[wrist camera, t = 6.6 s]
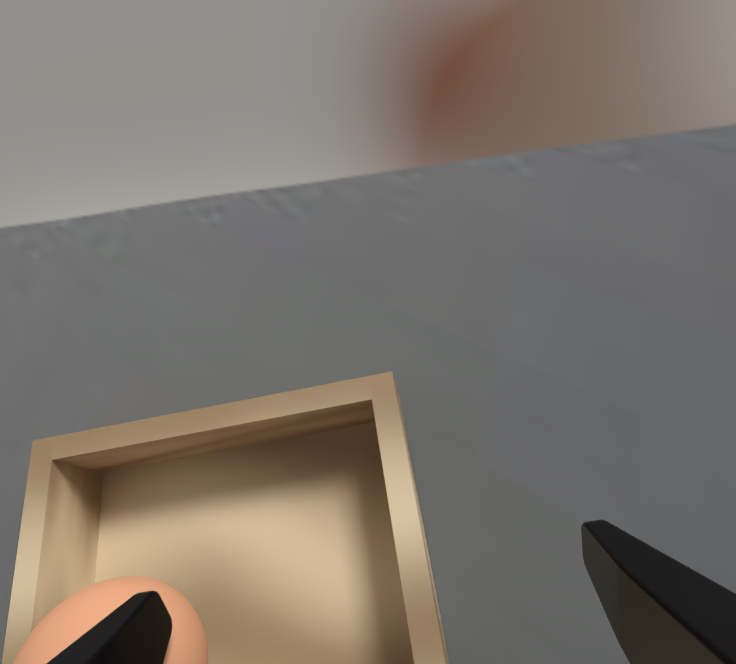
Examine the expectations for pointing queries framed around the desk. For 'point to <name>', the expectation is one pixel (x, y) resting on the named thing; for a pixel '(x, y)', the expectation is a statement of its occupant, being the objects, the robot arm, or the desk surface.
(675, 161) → the desk surface
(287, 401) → the tray
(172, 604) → the ball
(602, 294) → the desk surface
